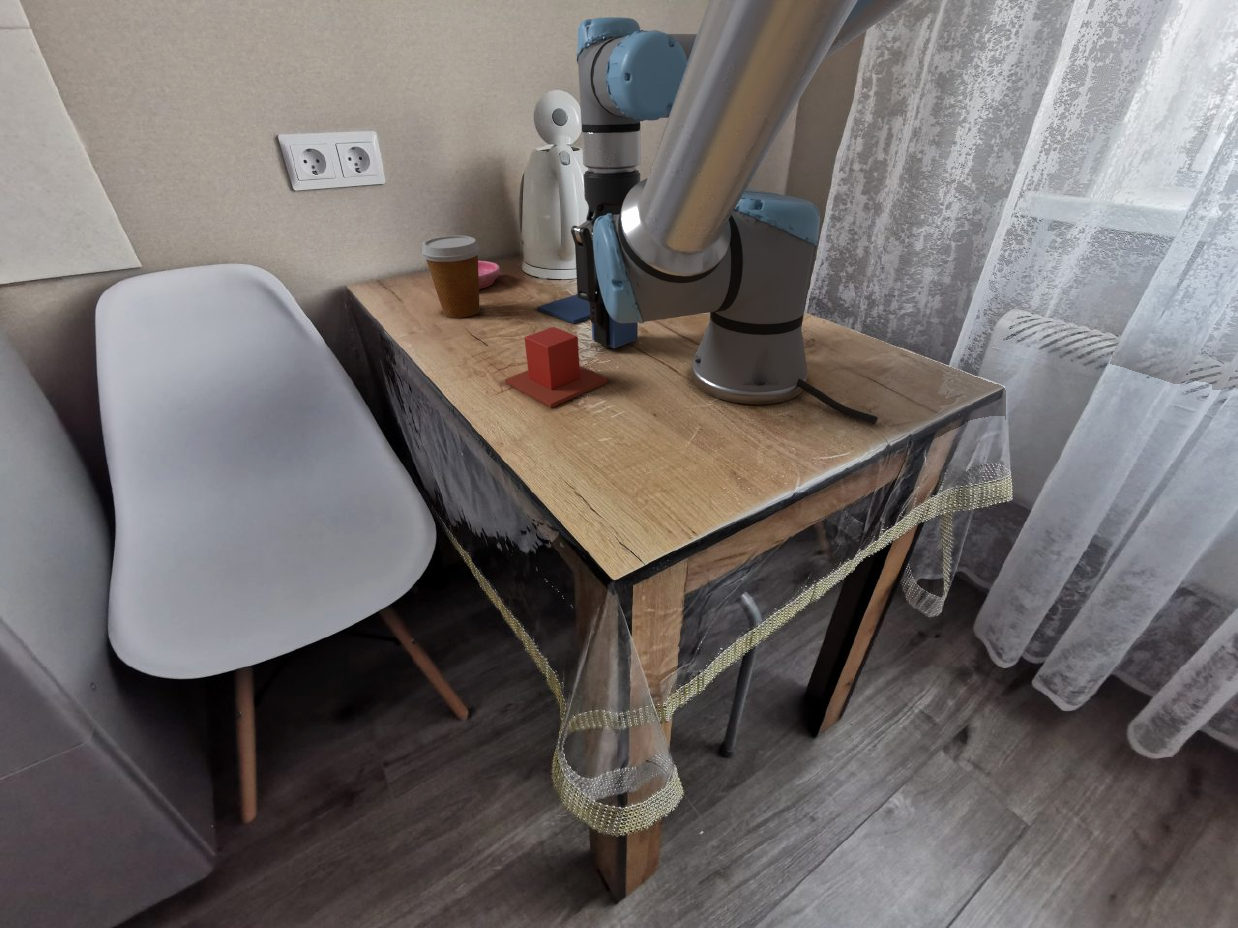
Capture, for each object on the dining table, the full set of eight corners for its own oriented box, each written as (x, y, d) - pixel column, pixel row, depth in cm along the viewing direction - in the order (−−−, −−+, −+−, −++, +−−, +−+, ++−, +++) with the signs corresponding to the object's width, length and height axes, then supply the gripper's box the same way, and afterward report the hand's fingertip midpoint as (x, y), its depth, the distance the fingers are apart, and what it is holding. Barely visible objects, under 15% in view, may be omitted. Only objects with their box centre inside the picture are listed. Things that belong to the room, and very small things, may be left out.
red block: (580, 378, 76) (578, 336, 73) (551, 390, 73) (547, 347, 70) (557, 367, 79) (553, 326, 76) (528, 378, 76) (523, 336, 73)
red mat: (608, 382, 76) (608, 378, 76) (551, 408, 70) (550, 404, 70) (561, 361, 82) (561, 357, 82) (505, 383, 76) (504, 379, 76)
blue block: (637, 339, 86) (638, 301, 83) (614, 348, 84) (613, 309, 80) (615, 331, 89) (614, 294, 86) (592, 339, 87) (590, 301, 83)
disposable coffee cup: (482, 321, 96) (471, 248, 89) (427, 321, 96) (411, 249, 89) (493, 302, 103) (484, 234, 97) (442, 303, 104) (429, 235, 97)
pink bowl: (445, 275, 118) (442, 260, 116) (504, 274, 118) (502, 258, 117) (433, 294, 108) (429, 278, 106) (497, 292, 108) (495, 276, 106)
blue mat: (616, 309, 100) (615, 305, 100) (573, 324, 94) (573, 320, 94) (579, 296, 106) (579, 293, 105) (537, 309, 100) (537, 306, 100)
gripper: (638, 161, 81) (638, 317, 94) (539, 174, 70) (554, 348, 83) (678, 164, 76) (672, 328, 89) (578, 178, 66) (588, 362, 79)
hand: (615, 337), depth 86 cm, fingers closed on blue block, 5 cm apart
